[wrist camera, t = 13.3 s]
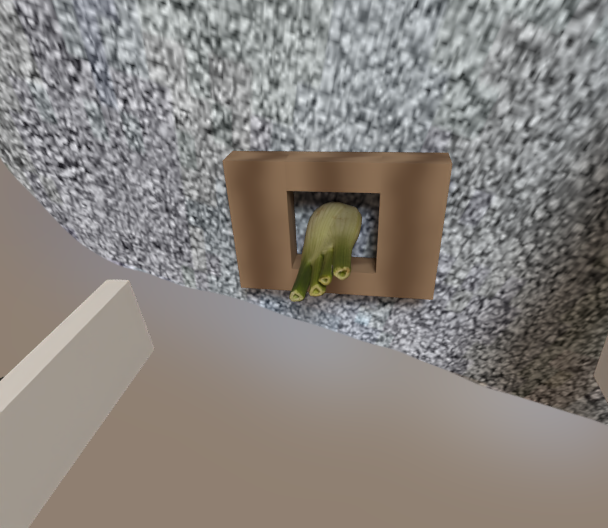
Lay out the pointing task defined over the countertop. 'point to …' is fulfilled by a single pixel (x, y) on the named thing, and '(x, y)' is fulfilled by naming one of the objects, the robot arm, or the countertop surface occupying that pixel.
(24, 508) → the robot arm
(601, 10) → the countertop surface
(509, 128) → the countertop surface
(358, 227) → the fennel bulb
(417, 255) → the jig block
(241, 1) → the countertop surface
